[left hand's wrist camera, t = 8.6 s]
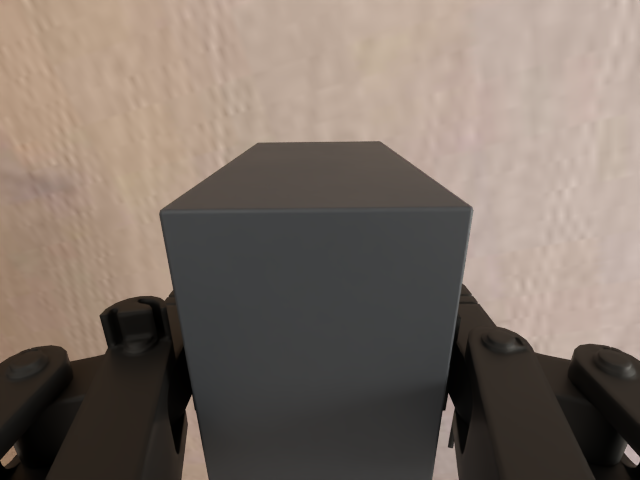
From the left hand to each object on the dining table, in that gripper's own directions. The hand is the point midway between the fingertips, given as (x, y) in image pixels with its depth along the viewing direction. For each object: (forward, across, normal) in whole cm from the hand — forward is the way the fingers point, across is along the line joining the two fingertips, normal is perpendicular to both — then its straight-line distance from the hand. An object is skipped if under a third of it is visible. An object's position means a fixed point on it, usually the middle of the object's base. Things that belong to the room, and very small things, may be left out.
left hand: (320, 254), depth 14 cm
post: (+1, 0, -22) cm, 22 cm away
